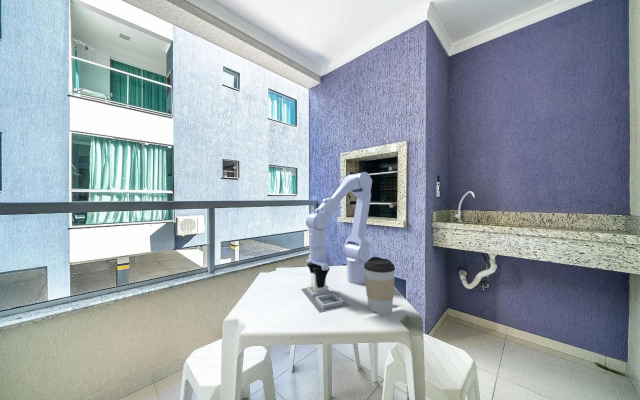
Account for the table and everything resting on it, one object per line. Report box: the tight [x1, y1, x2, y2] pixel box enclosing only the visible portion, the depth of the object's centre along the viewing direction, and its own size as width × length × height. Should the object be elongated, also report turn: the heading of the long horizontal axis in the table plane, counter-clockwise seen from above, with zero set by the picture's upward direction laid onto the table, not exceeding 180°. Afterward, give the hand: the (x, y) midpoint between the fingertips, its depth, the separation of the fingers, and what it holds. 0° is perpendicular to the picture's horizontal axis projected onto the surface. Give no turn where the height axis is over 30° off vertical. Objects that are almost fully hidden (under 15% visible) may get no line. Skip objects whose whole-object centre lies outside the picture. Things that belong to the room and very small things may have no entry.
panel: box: [300, 284, 351, 314], centre depth 74 cm, size 10×19×2 cm, turn 22°
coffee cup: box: [364, 256, 396, 316], centre depth 67 cm, size 9×9×15 cm
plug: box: [310, 272, 327, 293], centre depth 78 cm, size 4×4×7 cm
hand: (318, 284), depth 78 cm, fingers closed on plug, 4 cm apart
